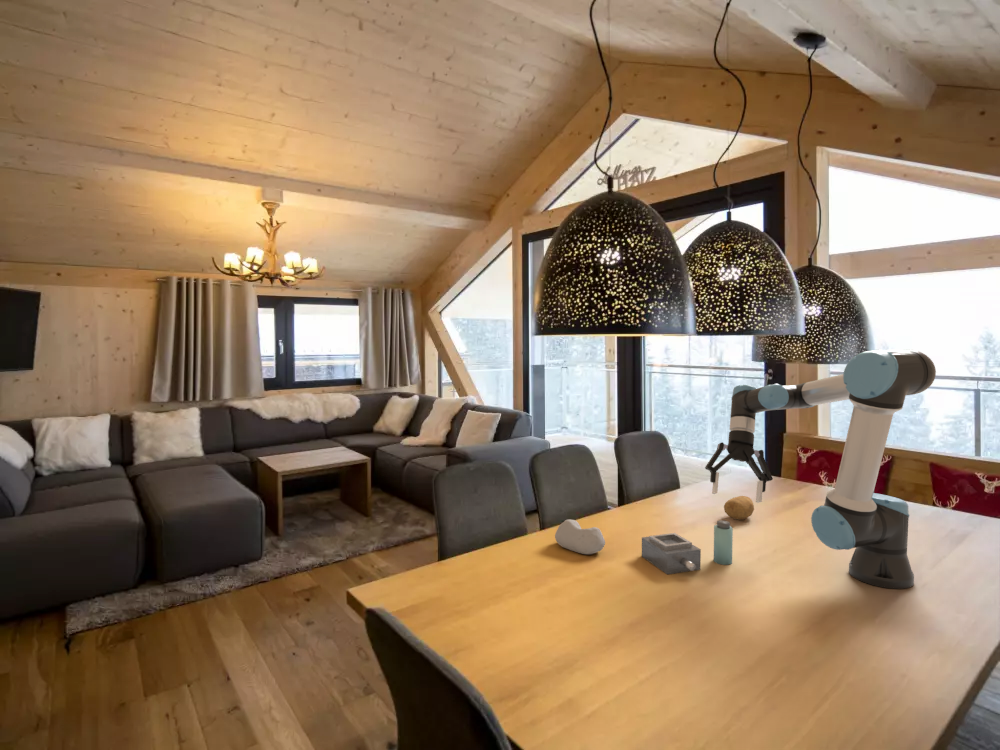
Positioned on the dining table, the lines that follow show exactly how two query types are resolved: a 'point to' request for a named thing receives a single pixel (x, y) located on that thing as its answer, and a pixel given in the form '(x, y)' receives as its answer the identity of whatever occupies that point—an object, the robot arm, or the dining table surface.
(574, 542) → the decorative stone
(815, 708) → the dining table surface
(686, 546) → the square hollow holder
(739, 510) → the potato
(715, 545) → the teal bottle
